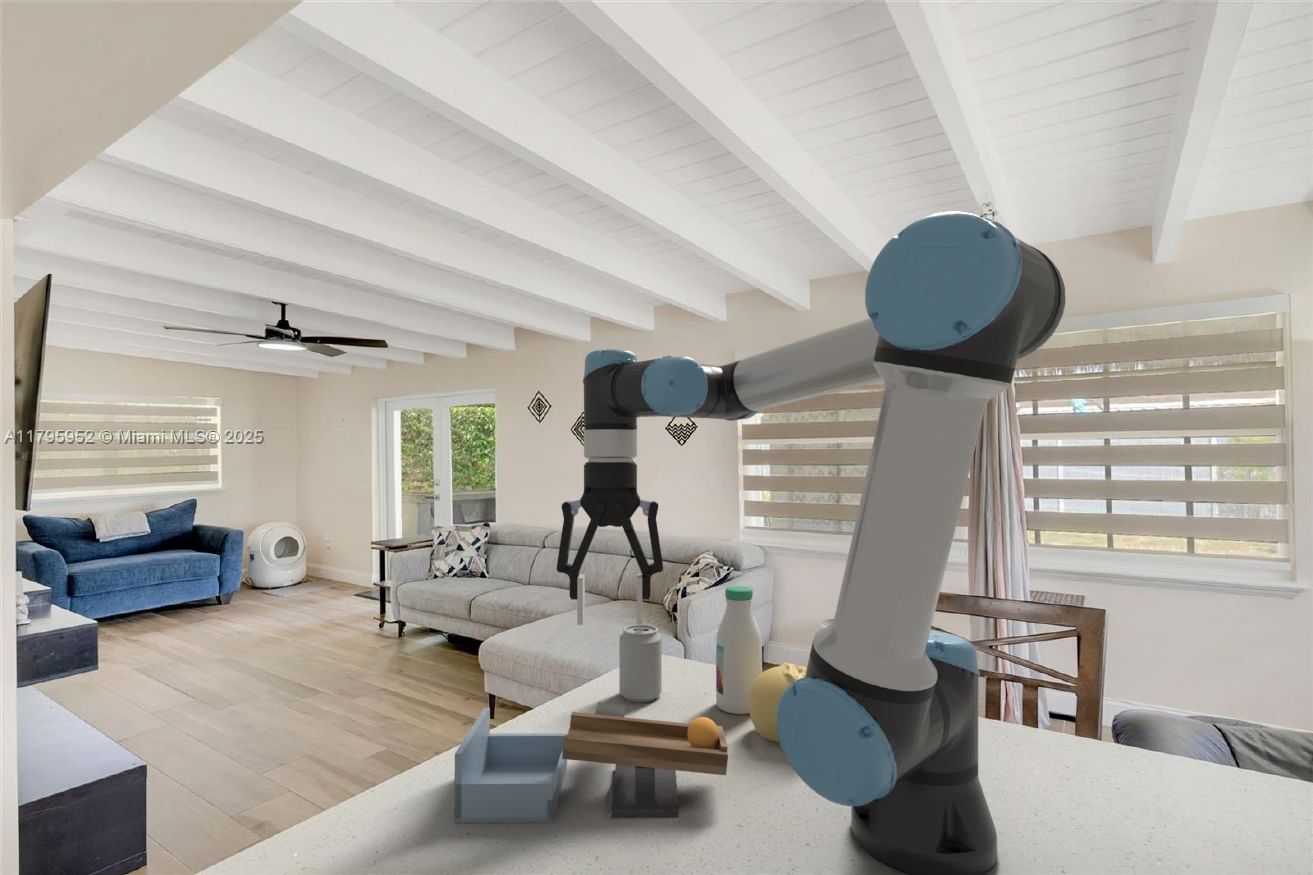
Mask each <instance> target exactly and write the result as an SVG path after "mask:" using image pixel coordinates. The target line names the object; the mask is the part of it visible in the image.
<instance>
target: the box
mask: <svg viewBox="0 0 1313 875" xmlns="http://www.w3.org/2000/svg"><path fill="white" fill-rule="evenodd" d="M490 713H491V708H490V707H484V708H482V710H481V712H479V715H478V717H477V718H476V720H475V721H474V722H473V725H472V726H471V728H470V729H469V731H468V733H467V734H466V736H465V737H464V738H463V740H462V741H461V743H460V745H459V746H458V748H457V750H455V753H454V818H453V819H454V820H453V821H454V824H479V823H480V824H489V823H490V824H491V823H492V824H494V823H495V824H498V823H502V824H504V823H510V824H511V823H517V824H518V823H519V824H520V823H522V824H523V823H530V824H531V823H535V824H536V823H553V821H554V818H555V813H556V810H557V806H558V802H559V798H560V795H561V790H562V787H563V783H564V779H565V775H566V772H567V771H566V770H567V769H568V768H567V767H568V759H562V755H563V746H564V738H565V735H568V732H567V733H566V732H562V733H561V732H560V733H559V732H551V733H550V732H548V733H546V732H545V733H543V732H542V733H540V732H537V733H533V732H532V733H530V732H529V733H528V732H527V733H526V732H525V733H521V732H520V733H518V732H517V733H514V732H513V733H507V732H505V733H502V732H501V733H491V732H490V731H491V730H490V728H491V727H490V726H491V724H490V723H491V717H490V716H491V714H490Z"/></svg>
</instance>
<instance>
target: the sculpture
mask: <svg viewBox="0 0 1313 875" xmlns="http://www.w3.org/2000/svg"><path fill="white" fill-rule="evenodd" d="M806 670H807V666H805V665H804V666H803V665H796V664H794V663H788V662H785V661H782V662H781V664H780V665H779V666H774V667H771V668H769V669H766V670H764V671H762V674H760V675H759V676H758V677H757V679H756V680H755V682H754V683H753V685H752V688H751V691H750V695H749V712H750V714H749V717H750V720H751V723H752V724H753V727H754V729H755V730H756V732H757V733H758V734H759V736H761V737H762V738H764V739H766V740H768V741H771V742H776V743H780V740H779V737H778V732H777V726H776V711H777V706H778V702H779V700H780V698H781V696H782V694H783V693H784V691H785V690H786V689H787V688H788V687H789V686H790V685H791V683H793V682H795V681H796V680H798V679H801V678H804V677H805V674H806Z"/></svg>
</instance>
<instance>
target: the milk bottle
mask: <svg viewBox="0 0 1313 875" xmlns="http://www.w3.org/2000/svg"><path fill="white" fill-rule="evenodd" d="M753 592H754V591H753V589H752V588H751V587H749V586H744V585H732V586H727V587H726V588H725V592H724V593H725V594H724V595H725V602H726V608H725V611H724V614H723V616H722V619H721V622H720V623H719V627H718V629H717V633H716V654H715V656H716V657H715V659H716V661H715V668H716V669H715V670H716V671H715V676H716V678H715V682H716V683H715V690H716V691H715V694H716V695H715V697H716V698H715V702H716V706H717V707H718V709H720V710H721V711H723V712H726V713H728V714H734V715H750V712H749V695H750V691H751V688H752V685H753V683H754V682H755V680H756V679H757V677H758V676H759V675H760V674H762V673H763V647H762V646H763V645H762V644H763V642H762V635H761V631H760V627H759V625H758V622H757V619H756V618H755V616H754V612H753V608H752V602H753V598H754V597H753V596H754V595H753V594H754V593H753Z"/></svg>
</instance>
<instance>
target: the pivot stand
mask: <svg viewBox="0 0 1313 875" xmlns="http://www.w3.org/2000/svg"><path fill="white" fill-rule="evenodd" d="M676 771H677V770H667V769H658V768H648V767H638V766H628V765H618V764H615V771H614V779H613V789H612V797H611V808H610V819H678V818H679V817H680V816H679V813H680V810H679V807H680V806H679V797H678V796H679V795H678V784H677V773H676Z"/></svg>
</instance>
